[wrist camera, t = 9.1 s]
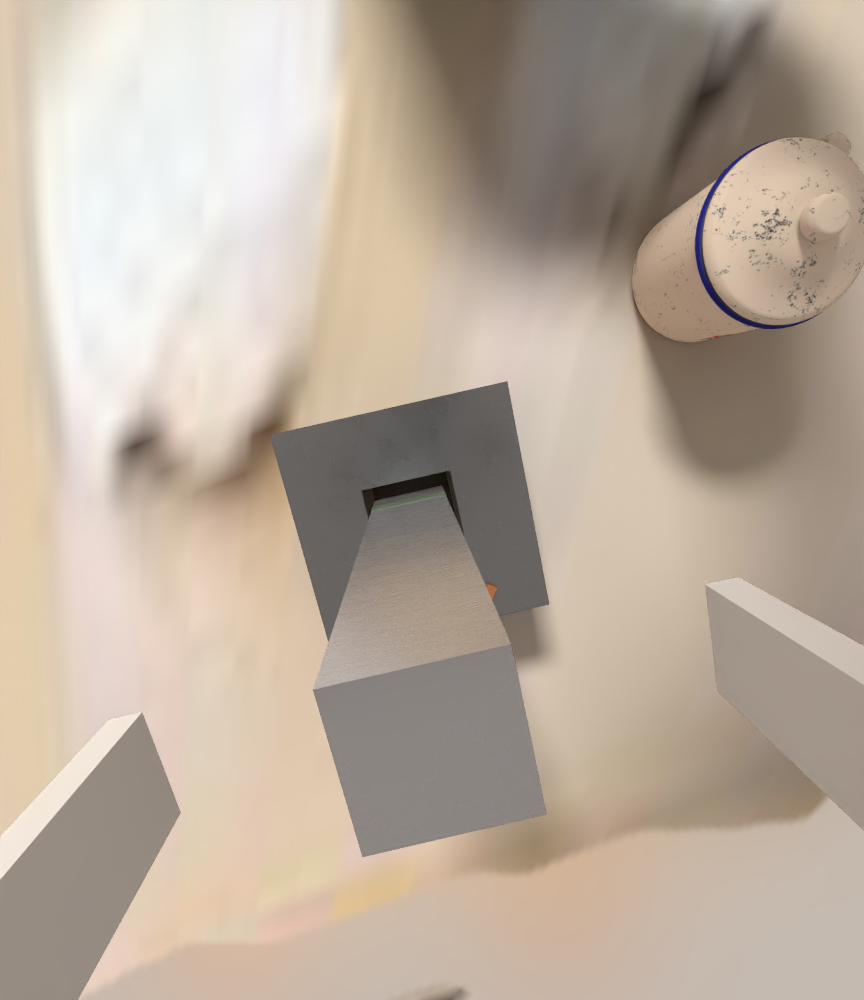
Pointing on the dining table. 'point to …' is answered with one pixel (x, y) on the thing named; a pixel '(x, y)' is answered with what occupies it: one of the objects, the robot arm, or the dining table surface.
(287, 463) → the sleeve base
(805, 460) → the dining table surface
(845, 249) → the teacup with lid
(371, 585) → the column
